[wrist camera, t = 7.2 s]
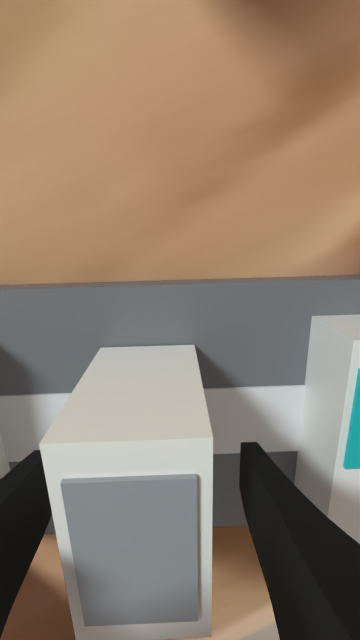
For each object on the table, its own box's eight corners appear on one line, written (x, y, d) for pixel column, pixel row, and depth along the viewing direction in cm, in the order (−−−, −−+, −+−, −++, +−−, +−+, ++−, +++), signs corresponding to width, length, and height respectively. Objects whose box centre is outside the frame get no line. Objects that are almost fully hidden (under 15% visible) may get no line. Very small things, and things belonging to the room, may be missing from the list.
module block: (114, 480, 14) (74, 650, 9) (100, 347, 12) (36, 448, 7) (195, 477, 15) (212, 643, 9) (194, 344, 13) (213, 442, 7)
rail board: (-37, 517, 17) (-108, 612, 12) (-105, 288, 13) (-238, 313, 9) (351, 501, 17) (410, 589, 13) (391, 274, 13) (492, 292, 9)
